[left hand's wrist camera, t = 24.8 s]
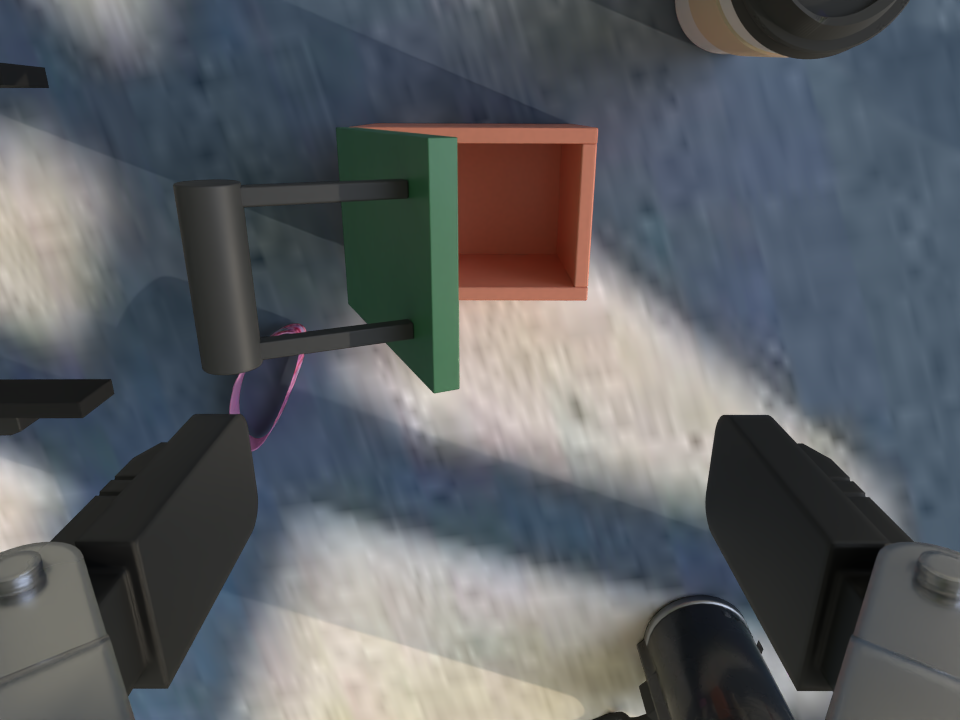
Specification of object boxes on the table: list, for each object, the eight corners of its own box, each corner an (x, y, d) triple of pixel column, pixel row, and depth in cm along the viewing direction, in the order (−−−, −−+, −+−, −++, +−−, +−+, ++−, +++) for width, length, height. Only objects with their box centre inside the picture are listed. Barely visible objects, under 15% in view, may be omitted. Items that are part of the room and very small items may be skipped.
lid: (458, 137, 23) (165, 141, 19) (460, 389, 26) (212, 433, 23) (356, 127, 35) (164, 128, 31) (367, 301, 38) (195, 321, 35)
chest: (572, 123, 45) (598, 127, 35) (565, 262, 48) (587, 300, 39) (376, 123, 45) (348, 127, 35) (383, 262, 48) (359, 300, 39)
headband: (266, 309, 49) (257, 318, 47) (315, 329, 50) (309, 339, 48) (223, 426, 53) (213, 440, 51) (270, 444, 53) (262, 458, 51)
